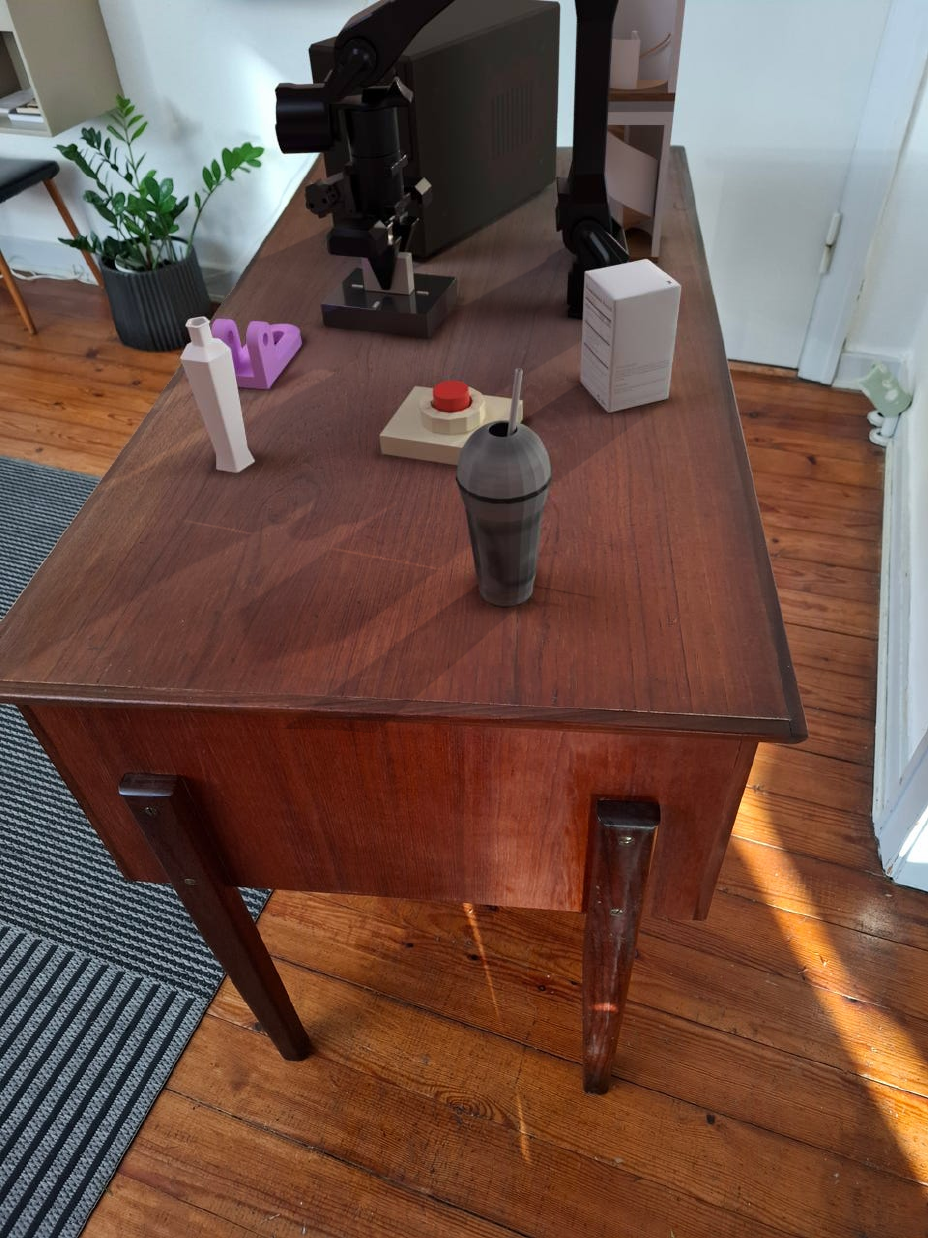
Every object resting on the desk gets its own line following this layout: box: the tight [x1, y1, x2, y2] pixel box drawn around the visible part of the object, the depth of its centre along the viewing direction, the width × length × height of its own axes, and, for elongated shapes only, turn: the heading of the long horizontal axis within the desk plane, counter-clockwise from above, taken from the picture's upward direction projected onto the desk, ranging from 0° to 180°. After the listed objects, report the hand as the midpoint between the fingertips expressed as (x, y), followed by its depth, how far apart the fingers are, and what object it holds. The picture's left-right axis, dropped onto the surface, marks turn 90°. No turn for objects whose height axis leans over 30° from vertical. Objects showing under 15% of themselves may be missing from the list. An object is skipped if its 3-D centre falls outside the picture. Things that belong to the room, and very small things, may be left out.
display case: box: [605, 0, 687, 267], centre depth 111 cm, size 11×11×35 cm
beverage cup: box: [455, 368, 553, 607], centre depth 68 cm, size 7×7×20 cm
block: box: [379, 385, 524, 466], centre depth 91 cm, size 12×10×4 cm
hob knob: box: [360, 252, 414, 295], centre depth 110 cm, size 6×2×5 cm, turn 71°
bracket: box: [210, 318, 303, 390], centre depth 104 cm, size 13×6×7 cm, turn 167°
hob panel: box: [320, 267, 459, 339], centre depth 112 cm, size 14×11×3 cm
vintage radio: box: [307, 0, 561, 258], centre depth 129 cm, size 38×20×25 cm, turn 144°
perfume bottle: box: [179, 316, 256, 474], centre depth 85 cm, size 5×4×15 cm
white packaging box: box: [579, 259, 682, 414], centre depth 93 cm, size 7×7×13 cm
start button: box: [432, 380, 469, 413], centre depth 89 cm, size 4×4×2 cm
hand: (389, 285), depth 111 cm, fingers closed on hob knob, 2 cm apart
